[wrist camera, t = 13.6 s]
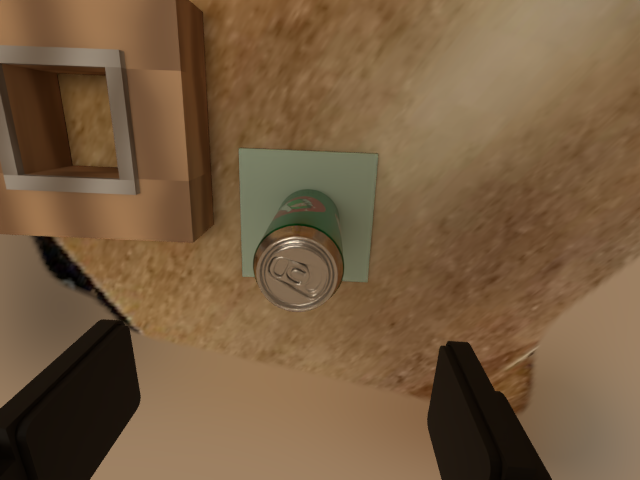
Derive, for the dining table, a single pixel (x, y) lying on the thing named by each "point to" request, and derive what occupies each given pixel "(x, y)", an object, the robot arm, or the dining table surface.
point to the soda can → (301, 253)
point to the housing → (127, 119)
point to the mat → (318, 174)
